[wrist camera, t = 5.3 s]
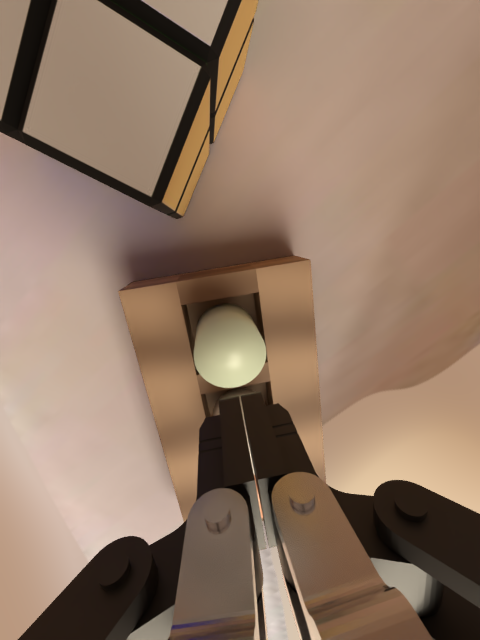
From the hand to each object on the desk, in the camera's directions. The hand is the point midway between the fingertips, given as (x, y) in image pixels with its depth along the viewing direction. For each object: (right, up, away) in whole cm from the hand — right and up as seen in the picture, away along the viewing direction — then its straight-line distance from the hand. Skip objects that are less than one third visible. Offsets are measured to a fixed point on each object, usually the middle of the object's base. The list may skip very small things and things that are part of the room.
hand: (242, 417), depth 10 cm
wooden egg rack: (0, -3, +14) cm, 14 cm away
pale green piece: (-1, +3, +9) cm, 10 cm away
